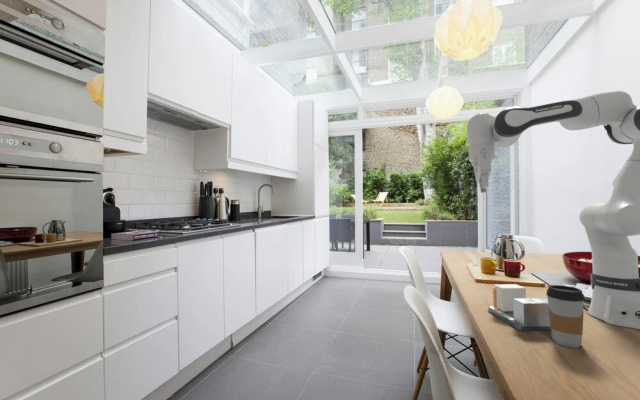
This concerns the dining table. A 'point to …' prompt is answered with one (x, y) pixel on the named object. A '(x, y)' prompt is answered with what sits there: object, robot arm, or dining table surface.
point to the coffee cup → (566, 314)
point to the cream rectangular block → (507, 295)
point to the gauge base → (526, 314)
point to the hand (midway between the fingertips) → (484, 190)
